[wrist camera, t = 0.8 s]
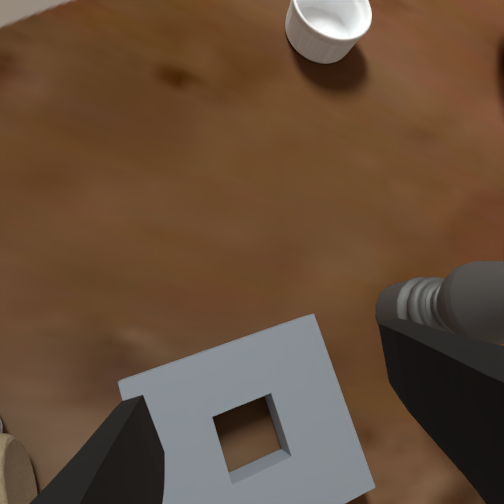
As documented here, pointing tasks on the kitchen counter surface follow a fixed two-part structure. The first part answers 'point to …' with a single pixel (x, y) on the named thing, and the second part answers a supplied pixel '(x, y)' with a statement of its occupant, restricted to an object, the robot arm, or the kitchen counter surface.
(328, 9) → the ramekin
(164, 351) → the kitchen counter surface
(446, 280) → the candle holder
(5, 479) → the ceramic mug
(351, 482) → the board
